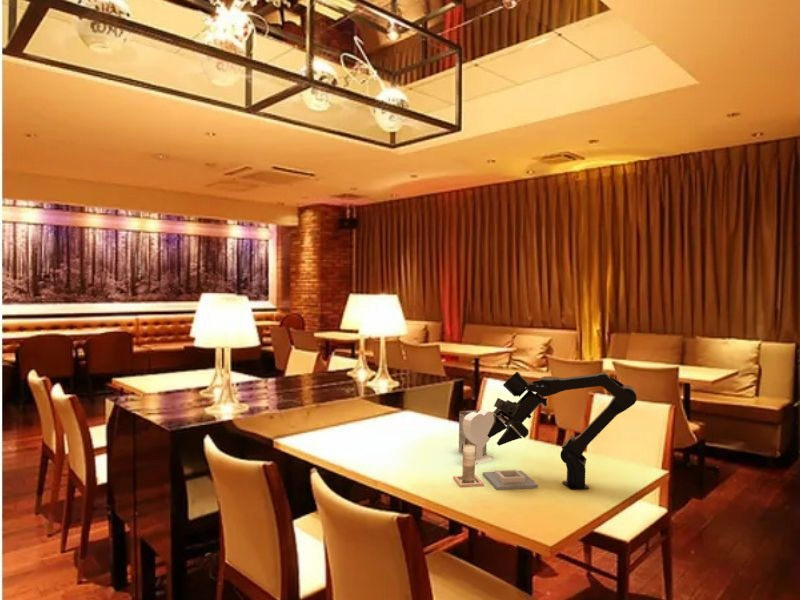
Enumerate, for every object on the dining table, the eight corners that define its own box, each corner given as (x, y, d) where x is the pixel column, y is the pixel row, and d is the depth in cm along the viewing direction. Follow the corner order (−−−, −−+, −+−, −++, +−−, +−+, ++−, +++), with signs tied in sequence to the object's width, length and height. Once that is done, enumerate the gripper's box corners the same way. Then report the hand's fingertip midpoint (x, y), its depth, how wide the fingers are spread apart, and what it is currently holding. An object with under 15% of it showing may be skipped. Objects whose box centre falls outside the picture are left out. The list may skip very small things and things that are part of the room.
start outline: (483, 485, 186) (483, 483, 186) (460, 487, 185) (460, 484, 185) (476, 477, 194) (476, 475, 194) (453, 478, 192) (453, 476, 192)
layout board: (538, 488, 185) (538, 480, 185) (497, 490, 183) (497, 482, 183) (521, 473, 199) (521, 466, 199) (482, 475, 196) (482, 467, 196)
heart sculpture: (486, 454, 220) (487, 407, 219) (497, 457, 216) (498, 410, 216) (460, 462, 209) (461, 413, 209) (471, 466, 206) (472, 416, 205)
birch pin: (476, 484, 188) (477, 447, 187) (464, 484, 187) (465, 448, 186) (472, 479, 192) (473, 444, 191) (460, 480, 191) (461, 444, 190)
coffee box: (479, 450, 225) (480, 409, 225) (486, 455, 219) (487, 413, 218) (457, 451, 223) (459, 410, 222) (464, 456, 217) (465, 414, 216)
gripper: (499, 384, 200) (468, 417, 198) (520, 395, 181) (486, 431, 180) (520, 406, 202) (489, 439, 200) (543, 420, 183) (509, 455, 182)
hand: (492, 440), depth 190 cm, fingers open, 9 cm apart
